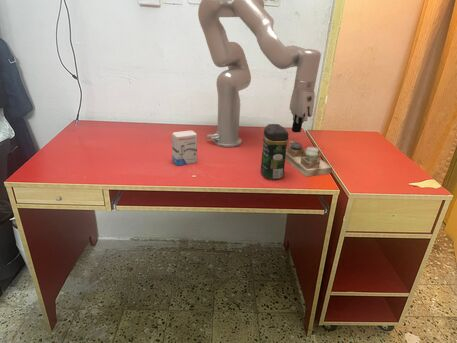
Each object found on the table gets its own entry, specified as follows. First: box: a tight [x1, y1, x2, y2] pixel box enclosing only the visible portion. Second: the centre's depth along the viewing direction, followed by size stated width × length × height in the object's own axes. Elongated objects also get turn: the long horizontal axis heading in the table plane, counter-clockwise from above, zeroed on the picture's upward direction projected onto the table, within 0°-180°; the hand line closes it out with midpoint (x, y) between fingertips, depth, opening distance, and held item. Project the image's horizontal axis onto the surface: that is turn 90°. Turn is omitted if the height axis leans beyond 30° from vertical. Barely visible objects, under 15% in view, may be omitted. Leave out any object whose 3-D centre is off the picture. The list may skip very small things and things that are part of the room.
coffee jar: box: [260, 123, 289, 180], centre depth 122 cm, size 10×8×19 cm
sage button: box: [305, 150, 319, 162], centre depth 127 cm, size 4×4×4 cm
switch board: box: [285, 145, 333, 178], centre depth 134 cm, size 11×18×5 cm, turn 19°
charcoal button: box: [290, 141, 303, 151], centre depth 137 cm, size 4×4×4 cm
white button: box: [306, 146, 319, 153], centre depth 133 cm, size 4×4×4 cm
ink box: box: [171, 130, 198, 166], centre depth 130 cm, size 9×5×12 cm, turn 117°
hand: (296, 131), depth 134 cm, fingers closed
